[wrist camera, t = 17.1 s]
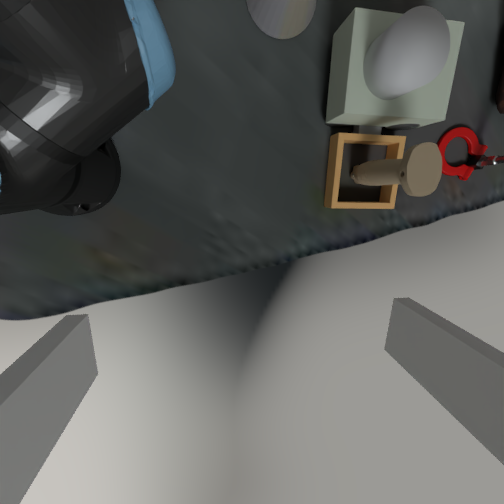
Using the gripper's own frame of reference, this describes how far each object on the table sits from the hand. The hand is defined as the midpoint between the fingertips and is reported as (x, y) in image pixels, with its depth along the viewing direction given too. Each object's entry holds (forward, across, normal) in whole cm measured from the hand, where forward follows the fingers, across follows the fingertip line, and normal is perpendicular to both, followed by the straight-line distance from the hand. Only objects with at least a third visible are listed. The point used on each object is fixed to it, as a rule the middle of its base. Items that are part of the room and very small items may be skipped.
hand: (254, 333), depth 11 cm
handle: (+35, +24, +8) cm, 43 cm away
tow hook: (+35, +44, +13) cm, 58 cm away
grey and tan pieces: (+35, +24, +15) cm, 45 cm away
